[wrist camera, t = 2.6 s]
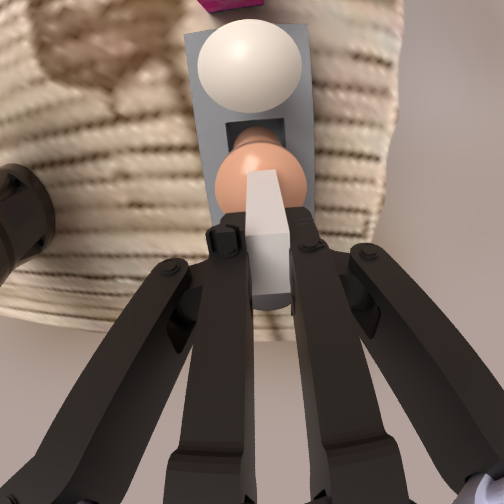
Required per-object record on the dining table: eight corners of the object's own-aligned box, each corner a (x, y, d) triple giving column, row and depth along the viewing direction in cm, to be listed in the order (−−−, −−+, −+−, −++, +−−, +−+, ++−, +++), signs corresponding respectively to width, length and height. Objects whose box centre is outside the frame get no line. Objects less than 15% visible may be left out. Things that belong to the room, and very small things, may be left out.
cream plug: (220, 102, 21) (204, 118, 14) (213, 43, 18) (192, 26, 11) (284, 96, 21) (304, 110, 14) (279, 38, 18) (297, 17, 11)
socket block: (222, 226, 36) (218, 255, 31) (196, 41, 23) (183, 34, 18) (304, 220, 35) (313, 248, 30) (296, 33, 23) (307, 23, 18)
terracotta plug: (230, 179, 25) (221, 233, 18) (223, 122, 22) (208, 150, 15) (289, 174, 25) (306, 226, 18) (286, 117, 22) (306, 142, 15)
